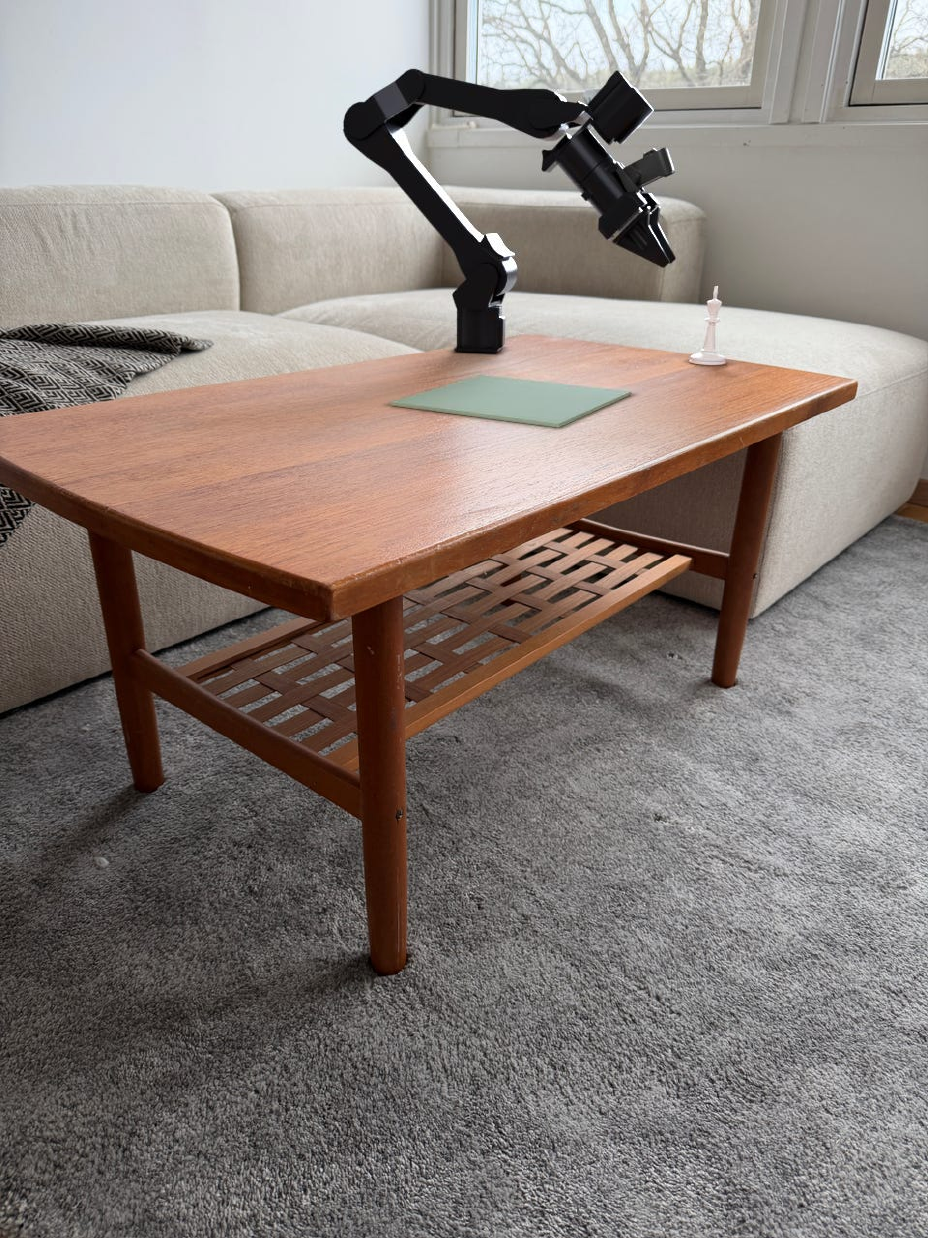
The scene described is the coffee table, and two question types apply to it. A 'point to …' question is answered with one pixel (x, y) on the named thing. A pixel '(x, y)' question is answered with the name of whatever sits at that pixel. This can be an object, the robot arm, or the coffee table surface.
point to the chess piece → (710, 336)
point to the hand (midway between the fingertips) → (670, 263)
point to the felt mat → (514, 400)
